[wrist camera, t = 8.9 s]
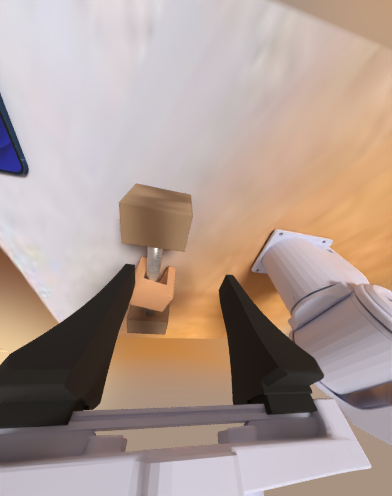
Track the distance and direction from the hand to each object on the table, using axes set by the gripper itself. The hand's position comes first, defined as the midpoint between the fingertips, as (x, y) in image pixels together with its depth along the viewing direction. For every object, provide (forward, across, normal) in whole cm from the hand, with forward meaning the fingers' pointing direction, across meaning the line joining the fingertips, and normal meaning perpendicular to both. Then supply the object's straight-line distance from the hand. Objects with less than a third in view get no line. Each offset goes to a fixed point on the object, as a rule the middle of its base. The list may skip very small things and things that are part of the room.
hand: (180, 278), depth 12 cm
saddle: (+8, +3, +8) cm, 12 cm away
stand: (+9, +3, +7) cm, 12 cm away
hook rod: (+6, +3, +7) cm, 10 cm away
